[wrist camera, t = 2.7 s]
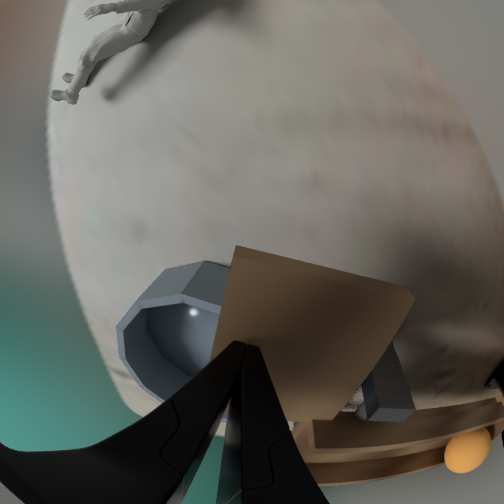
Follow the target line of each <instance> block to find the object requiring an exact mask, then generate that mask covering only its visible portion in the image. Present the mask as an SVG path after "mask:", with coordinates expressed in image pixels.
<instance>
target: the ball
mask: <svg viewBox="0 0 504 504" xmlns="http://www.w3.org/2000/svg"><path fill="white" fill-rule="evenodd" d="M490 447H491V436H490V434H489V432H488V430H487V429H486V428H481V429H478V430H475V431H472V432H469V433H466V434H463V435H459V436H456V437H452V438H451V439H450V441H449V442H448V444H447V447H446V449H445V454H444V459H445V463H446V466H447V467H448V468H449V469H450V470H451V471H453V472H456V473H465V472H469V471H471V470H473V469H475V468H476V467H478V466H479V465H480V464H481V463H482V462H483V461H484V460H485V458H486V456H487V455H488V453H489V450H490Z"/></svg>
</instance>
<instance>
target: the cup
mask: <svg viewBox="0 0 504 504" xmlns="http://www.w3.org/2000/svg"><path fill="white" fill-rule="evenodd" d="M229 271H230V268H228V267H225V266H221V265H218V264H215V263H211V262H208V261H201V262H197V263H192V264H188V265H183V266H179V267H174V268H170V269H165V270H164V271H163V272H162V274H161V275H160V276H159V277H158V278H157V279H156V280H155V281H154V282H153V283H152V284H151V285H150V286H149V288H148V289H147V290H146V291H145V292H144V293H143V294H142V295H141V296H140V297H139V298H138V300H137V301H136V302H135V303H134V304H133V306H132V307H131V308H130V309H129V311H128V312H127V313H126V314H125V316H124V317H123V318H122V319H121V321H120V322H119V323H118V325H117V326H116V330H117V340H118V349H119V357H120V359H121V360H122V362H123V363H124V365H125V366H126V368H127V369H128V371H129V372H130V374H131V375H132V377H133V378H134V379H135V381H136V382H137V383H138V385H139V386H140V387H141V388H142V389H143V390H145V391H146V392H148V393H149V394H150V395H152V396H153V397H154V398H156V399H157V400H159V401H160V402H162V403H163V402H164V401H165V400H167V399H168V398H170V396H172V395H173V394H174V393H175V392H176V391H177V390H179V389H180V388H181V387H182V386H183V385H184V384H185V383H187V382H188V381H189V380H190V379H191V378H192V377H193V376H195V375H196V374H197V373H198V372H199V371H200V370H201V369H202V368H204V367H205V366H206V365H207V364H208V363H209V361H210V356H211V352H212V347H213V343H214V338H215V333H216V329H217V324H218V320H219V315H220V311H221V306H222V302H223V298H224V293H225V289H226V284H227V280H228V276H229ZM227 415H228V412H226V411H225V413H224V416H223V418H222V420H221V422H227Z"/></svg>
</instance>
